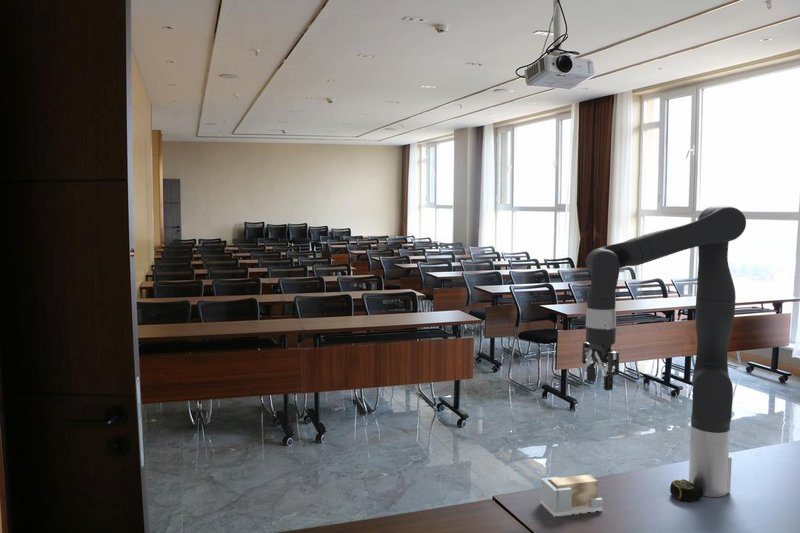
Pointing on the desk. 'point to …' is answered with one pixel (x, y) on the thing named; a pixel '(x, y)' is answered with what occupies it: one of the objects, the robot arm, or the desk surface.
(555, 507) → the bracket board
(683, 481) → the tape measure
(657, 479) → the desk surface
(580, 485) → the beech rail
